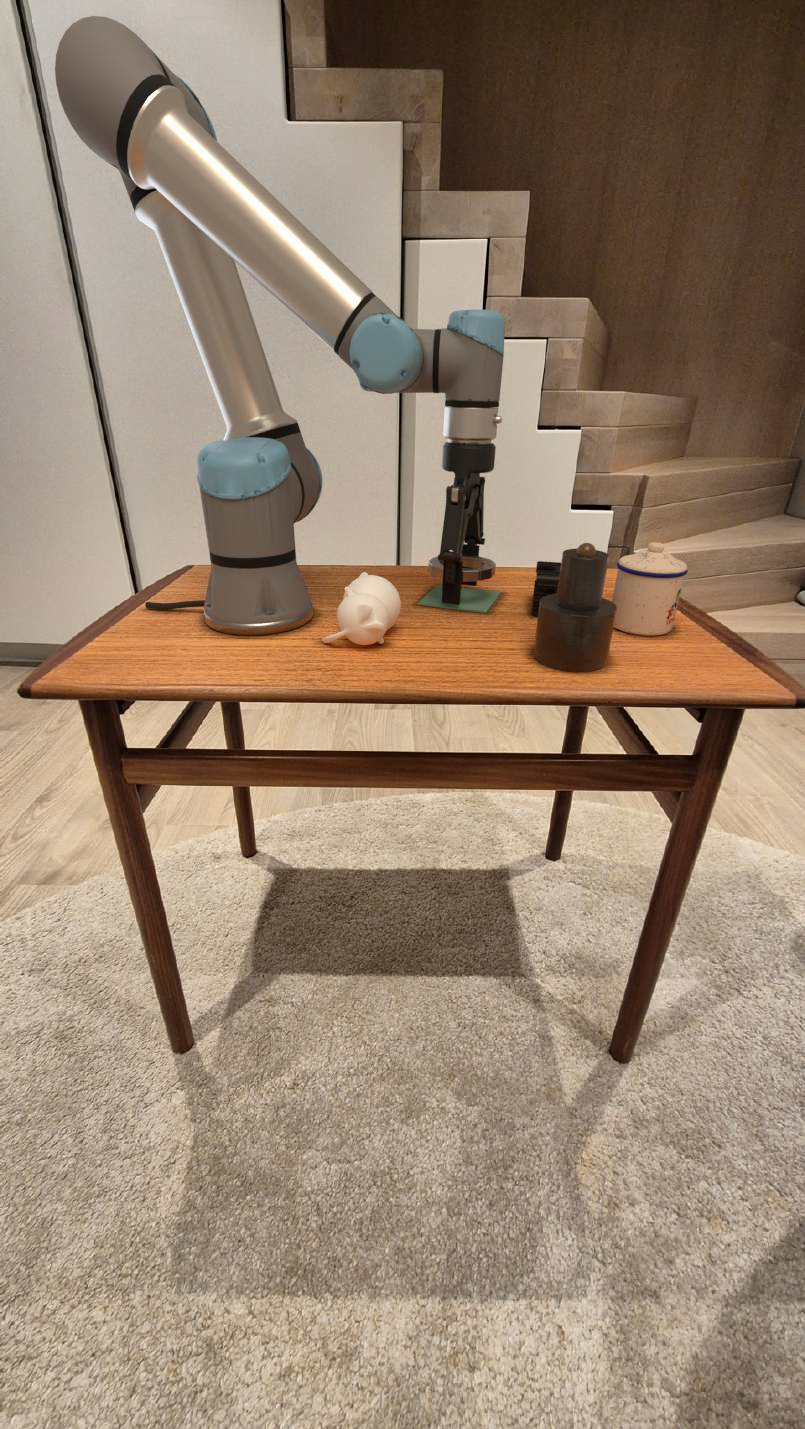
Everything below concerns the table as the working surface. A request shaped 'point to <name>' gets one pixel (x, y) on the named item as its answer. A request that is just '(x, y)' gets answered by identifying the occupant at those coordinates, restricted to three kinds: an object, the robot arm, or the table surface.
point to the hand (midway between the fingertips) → (459, 593)
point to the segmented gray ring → (478, 570)
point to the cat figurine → (367, 610)
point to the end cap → (545, 582)
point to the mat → (463, 599)
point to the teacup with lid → (648, 591)
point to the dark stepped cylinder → (576, 615)
